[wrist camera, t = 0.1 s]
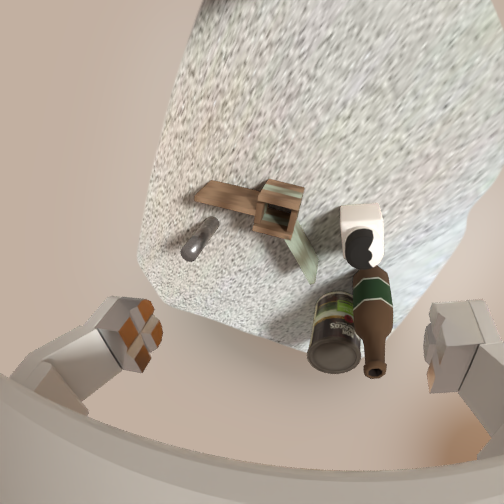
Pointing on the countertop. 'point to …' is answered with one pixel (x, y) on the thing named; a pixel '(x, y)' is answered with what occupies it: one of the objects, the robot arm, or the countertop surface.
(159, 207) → the countertop surface
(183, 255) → the hinge pin
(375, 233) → the medicine bottle
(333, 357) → the coffee can
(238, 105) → the countertop surface
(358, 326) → the beer bottle
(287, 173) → the countertop surface
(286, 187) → the stand
